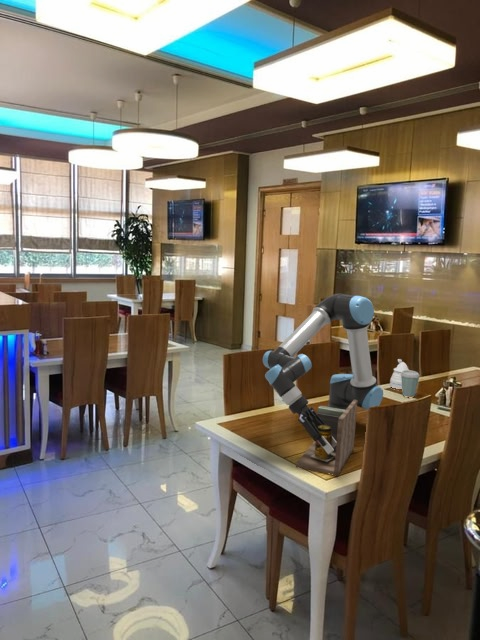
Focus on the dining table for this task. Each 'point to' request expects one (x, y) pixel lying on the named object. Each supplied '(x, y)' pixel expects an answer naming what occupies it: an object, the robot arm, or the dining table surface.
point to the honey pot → (398, 375)
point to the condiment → (319, 450)
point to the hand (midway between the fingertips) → (333, 449)
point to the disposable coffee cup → (409, 382)
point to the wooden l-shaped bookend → (341, 432)
